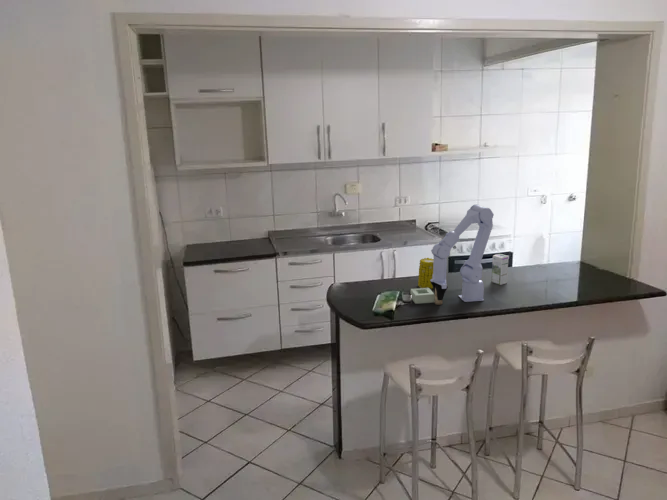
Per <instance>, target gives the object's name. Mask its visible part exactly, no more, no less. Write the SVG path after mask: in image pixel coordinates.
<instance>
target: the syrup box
mask: <svg viewBox="0 0 667 500" xmlns="http://www.w3.org/2000/svg"><path fill="white" fill-rule="evenodd" d="M509 258H510V257H509V255H506V254H503V253H496V254H494V255H492V263H491V265H492V266H491V268H492V269H491V280H490V281H491V283H493V284H495V285H499V286H502V285H505V284H508V272H509V271H508V270H509V269H508V268H509Z"/></svg>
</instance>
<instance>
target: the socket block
mask: <svg viewBox="0 0 667 500" xmlns="http://www.w3.org/2000/svg"><path fill="white" fill-rule="evenodd" d="M410 294H411V295H412V298H411V300H412V301H413V302H414V304H417V305H418V304H430V303H431V304H432V303H435V294H434V291H433V290H432V289H431V288H420V287H418V288H417V287H415V288H410ZM410 294H409V295H410Z"/></svg>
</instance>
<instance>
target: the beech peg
mask: <svg viewBox="0 0 667 500" xmlns="http://www.w3.org/2000/svg"><path fill="white" fill-rule="evenodd" d="M443 301H444V300H438V299H437V291H436V288H435V298H434V304H435V305H438V306H441V305H443Z"/></svg>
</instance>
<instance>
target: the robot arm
mask: <svg viewBox="0 0 667 500" xmlns="http://www.w3.org/2000/svg"><path fill="white" fill-rule="evenodd" d="M493 218H494V212H493V211H492V209H491V208H490V207H485V206H482V205H479V204H473V205H471V206H470V207H469V209H468V210H467V211H466V214H465V215H464V217H463V218H462V219H461V221H460V222H459V223H458V224H457V226H456V227H455V228H454V229H453V230H451V231H450V230H449V231H448V232H446V233H445V236H444V237H443V238H442V239H441V240H440V241H439V242H438V243H436V244H434V245H433V247H432V248H431V250H430V251H431V254H432V256H433V259H434V264H433V275H432V279H431V280H430V281H431V284H432V286H433V288H432V291H433V293H434V294H435V288H436V291H437V299H438V300H443V299H444V296H445V293H446V292H447V290H448V284H447V260H448V259H447V258H448V257H449V256H450V252H451V250H452V249H453V247H455V245H456V244H457V243H458V242H459V241H460V237H461V235H462V234H463V233H464V232H465V231H467V229H468V228H469V227H470V226H471V225H472V224H477V225H478V230H477V232H476V236H475V239H474V241H473V245H472V248H471V251H470V255H469V257H468V259H467V260H465V261H464V263H463V265H462V266H461V267H460V270H459V275H460V276H461V280H462V284H461V294H458V297H459V298H460V299H461V300H462V301H463V302H464V303H466V302H467V303H469V302H484V292H485V289H484V288H485V285H484V284H485V283H484V282H483V280H482V278H483V272H482V271H483V269H484V268H483V265H482V260H483V256H484V253H485V251H486V248H487V244H488V241H489V239H490V236H491V232H492V230H493V226H494V225H493ZM443 301H444V300H443Z"/></svg>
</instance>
